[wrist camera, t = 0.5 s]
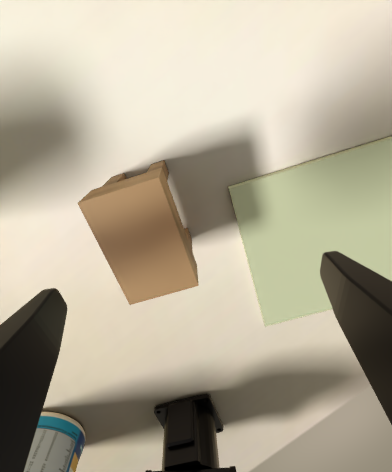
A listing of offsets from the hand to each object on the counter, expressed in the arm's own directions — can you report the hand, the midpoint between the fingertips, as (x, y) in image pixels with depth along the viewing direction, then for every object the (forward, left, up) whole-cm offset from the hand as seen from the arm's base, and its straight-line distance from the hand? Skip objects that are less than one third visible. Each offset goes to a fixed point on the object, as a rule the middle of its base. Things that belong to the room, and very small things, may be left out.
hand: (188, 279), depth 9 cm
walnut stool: (-1, +3, -13) cm, 13 cm away
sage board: (-8, -10, -13) cm, 18 cm away
